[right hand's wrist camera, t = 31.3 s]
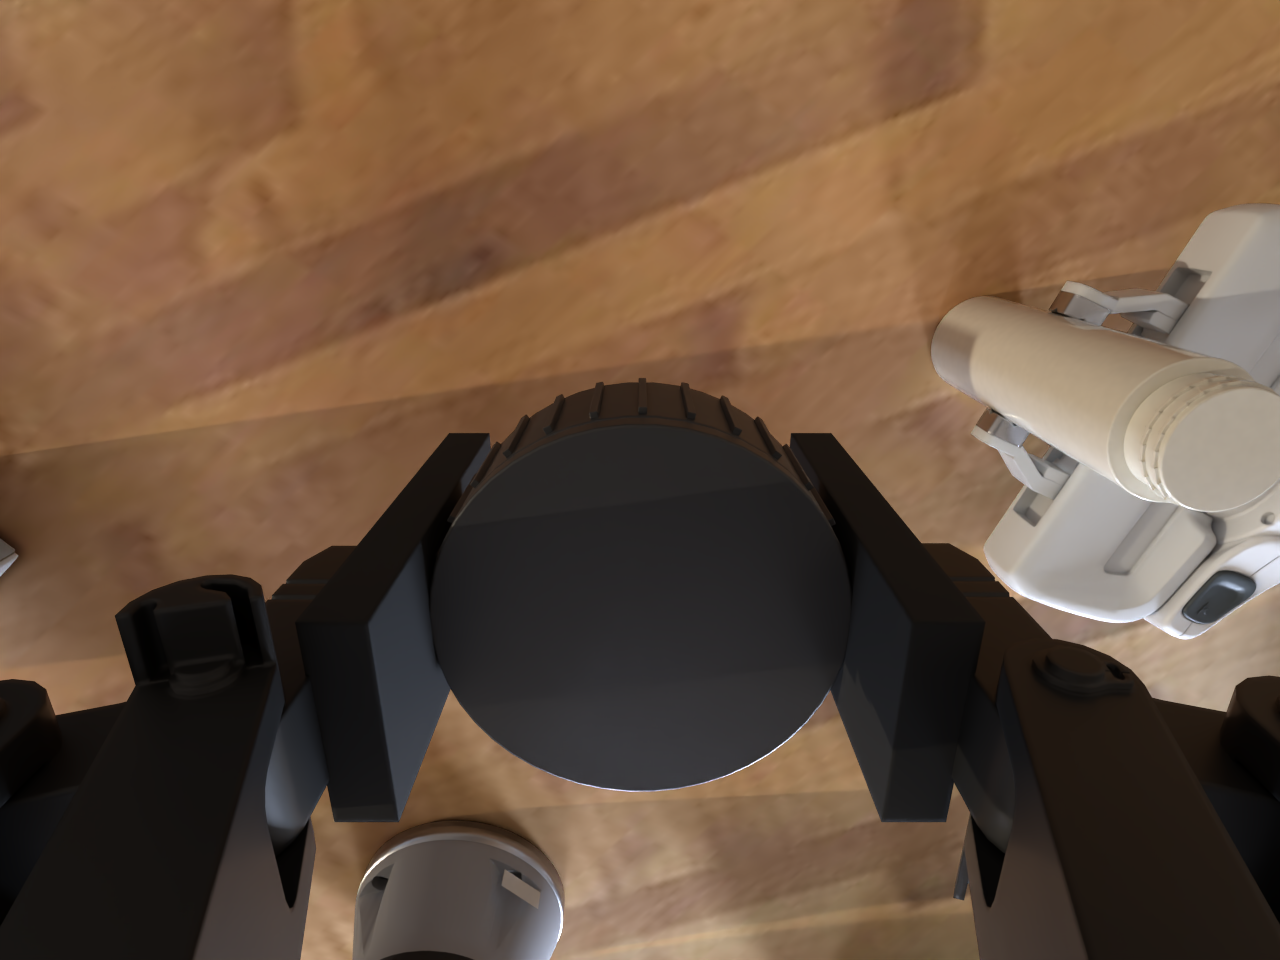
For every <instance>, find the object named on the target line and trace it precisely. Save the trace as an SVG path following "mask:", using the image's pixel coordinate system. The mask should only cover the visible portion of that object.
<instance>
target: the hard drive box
mask: <svg viewBox="0 0 1280 960" xmlns="http://www.w3.org/2000/svg"><path fill="white" fill-rule="evenodd" d="M17 558H18V555H17V554H16V553H15V549H14V548H13V547H11V546H10V545H8V544H7V543H6V542H4V541H3V540H2V539H1V538H0V576H1V575H2V574H3V573H4V572H5V571H6V570H7V569H8V568H9V567H10V566H11V564H12V563H13V562H14V561H15V560H16V559H17Z"/></svg>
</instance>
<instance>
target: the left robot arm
mask: <svg viewBox="0 0 1280 960" xmlns="http://www.w3.org/2000/svg"><path fill="white" fill-rule="evenodd" d="M1049 311H1051V312H1053V313H1057V314H1061V315H1064V316H1068V317H1072V318H1075V319H1079V320H1083V321H1086V322H1090V323H1094V324H1097V325H1101V324H1102V323H1103V322H1104V320H1105V319H1106V317H1107V316H1108V314H1116V313H1121V317H1123V318H1125V319H1127V320H1129V321H1131V322H1133V325H1132V326H1131V328H1130V329H1129V331H1128V332H1127V333H1130V334H1134V335H1137V336H1141V337H1145V338H1148V339H1152V340H1155V341H1159V342H1163V343H1166V344H1170V345H1174V346H1177V347H1181V348H1185V349H1188V350H1192V351H1195V352H1199V353H1203V354H1206V355H1210V356H1214V357H1217V358H1221V359H1224V360H1227V361H1230V362H1233V363H1235V364H1237V365H1239V366H1240V367H1242V368H1243V369H1244V370H1246V371H1247V372H1248V373H1249V374H1250V375H1251V376H1252V377H1253V379H1254V380H1255V382H1258V383H1260V384H1262V385H1265V386H1267V387H1269V388H1272V389H1273V390H1274V391H1275V392H1276V393H1277V394H1278V395H1279V396H1280V205H1278V204H1265V203H1248V204H1239V205H1235V206H1230V207H1227V208H1223V209H1220V210H1217V211H1214V212H1212V213H1210V214H1209V215H1207V216H1206V218H1205V219H1204V220H1203V221H1202V223H1201V224H1200V226H1199V227H1198V229H1197V230H1196V232H1195V233H1194V235H1193V236H1192V238H1191V239H1190V241H1189V242H1188V243H1187V245H1186V246H1185V248H1184V249H1183V251H1182V252H1181V254H1180V255H1179V257H1178V258H1177V260H1176V261H1175V263H1174V264H1173V266H1172V267H1171V269H1170V270H1169V272H1168V273H1167V275H1166V276H1165V278H1164V279H1163V280H1162V282H1161V283H1160V285H1159V286H1158V288H1157V289H1156V291H1151V290H1145V289H1140V288H1132V289H1124V290H1116V291H1108V292H1100V291H1098V290H1096V289H1094V288H1092V287H1090V286H1087V285H1084V284H1082V283H1078V282H1072V281H1066V283H1065V285H1064V286H1063V288H1062V289H1061V291H1060V293H1059V294H1058V296H1057V297H1056V299H1055V300H1054V302H1053V304H1052V305H1051V307H1050V308H1049ZM971 434H972V435H973V436H974V437H976V438H977V439H979V440H980V441H982V442H984V443H986V444H987V445H989V446H991V447H993V448H996V449H997V450H998V451H999V453H1000V455H1001V457H1002V458H1003V460H1004V462H1005V464H1006V465H1007V467H1008V469H1009V471H1010V472H1011V474H1012V476H1014V477H1015V478H1016V479H1018V480H1019V481H1021V482H1022V483H1023V484H1025V485H1024V486H1023V488H1022V489H1021V490H1020V492H1019V493H1018V495H1017V496H1016V498H1015V499H1014V501H1013V502H1012V504H1011V505H1010V507H1009V508H1008V510H1007V511H1006V513H1005V514H1004V516H1003V517H1002V519H1001V520H1000V522H999V523H998V524H997V526H996V527H995V529H994V530H993V532H992V533H991V535H990V536H989V538H988V539H987V541H986V542H985V544H984V553H985V556H986V558H987V561H988V563H989V565H990V567H991V569H992V570H993V571H994V572H995V574H996V575H997V576H998V577H999V578H1000V579H1001V580H1002V581H1003V582H1004V583H1005V584H1006V585H1008V586H1009V587H1010V588H1011V589H1013V590H1014V591H1015V592H1017V593H1019V594H1020V595H1022V596H1025V597H1027V598H1029V599H1032V600H1034V601H1037V602H1039V603H1042V604H1045V605H1048V606H1050V607H1053V608H1056V609H1059V610H1063V611H1066V612H1069V613H1073V614H1076V615H1079V616H1083V617H1087V618H1091V619H1095V620H1100V621H1105V622H1114V623H1124V622H1132V621H1136V620H1139V619H1142V618H1144V619H1145V620H1147V621H1148V622H1150V623H1151V624H1153V625H1154V626H1156V627H1158V628H1159V629H1161V630H1163V631H1164V632H1166V633H1168V634H1170V635H1172V636H1174V637H1177V638H1180V639H1191V638H1194V637H1197V636H1199V635H1200V634H1202V633H1204V632H1205V631H1207V630H1208V629H1209V628H1211V627H1212V626H1214V625H1215V624H1216V623H1218V622H1219V621H1220V620H1222V619H1223V618H1225V617H1226V616H1227V615H1229V614H1230V613H1232V612H1233V611H1234V610H1236V609H1237V608H1239V607H1240V606H1242V605H1243V604H1245V603H1246V602H1248V601H1250V600H1251V599H1253V598H1254V597H1256V596H1258V595H1259V594H1261V593H1263V592H1264V591H1266V590H1268V589H1270V588H1271V587H1273V586H1275V585H1277V584H1279V583H1280V478H1279V479H1278V480H1277V481H1276V482H1275V483H1274V484H1273V485H1272V486H1271V487H1270V488H1269V489H1268V490H1267V491H1265V492H1264V493H1263V494H1262V495H1260V496H1259V497H1257V498H1255V499H1254V500H1252V501H1250V502H1248V503H1246V504H1244V505H1241V506H1239V507H1236V508H1233V509H1230V510H1225V511H1218V512H1202V511H1196V510H1192V509H1189V508H1186V507H1182V506H1178V505H1176V504H1173V503H1171V502H1168V503H1165V502H1153V501H1147V500H1144V499H1141V498H1138V497H1136V496H1134V495H1132V494H1130V493H1128V492H1127V491H1125V490H1123V489H1122V488H1120V487H1118V486H1117V485H1115V484H1113V483H1112V482H1110V481H1109V480H1107V479H1105V478H1104V477H1102V476H1100V475H1099V474H1097V473H1095V472H1094V471H1092V470H1090V469H1089V468H1087V467H1085V466H1084V465H1082V464H1080V463H1079V462H1077V461H1075V460H1074V459H1072V458H1070V457H1069V456H1067V455H1065V454H1064V453H1062V452H1060V451H1059V450H1057V449H1055V448H1054V447H1052V446H1050V448H1049V449H1048V451H1047V452H1046V454H1045V455H1044V456H1043V458H1040V457H1037V456H1035V455H1033V454H1030V453H1029V454H1027V452H1026V450H1025V449H1024V447H1023V446H1022V445H1023V443H1024V441H1025V440H1026V438H1027V437H1028V435H1029V432H1027V431H1026V430H1024V429H1022V428H1021V427H1019V426H1017V425H1016V424H1014V423H1012V422H1011V421H1009V420H1008V419H1006V418H1004V417H1003V416H1001V415H999V414H998V413H996V412H994V411H993V410H991V409H988V408H987V409H986V410H985V412H984V413H983V415H982V416H981V418H980V419H979V421H978V422H977V424H976V425H975V427H974V429H973V430H972V432H971Z"/></svg>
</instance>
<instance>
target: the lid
mask: <svg viewBox="0 0 1280 960" xmlns="http://www.w3.org/2000/svg"><path fill="white" fill-rule="evenodd" d="M447 521H448V522H450V523H452V525H451V527H450V529H449V531H448V532H447V534H446V536H445V538H444V540H443V542H442V544H441V546H440V548H439V550H438V551H437V553H436V555H435V560H436V562H435V564H434V569H433V574H432V579H431V585H430V592H429V607H430V617H431V625H432V634H433V642H434V648H435V652H436V656H437V659H438V663H439V665H440V667H441V670H442V672H443V674H444V676H445V679H446V681H447V683H448V685H449V687H450V688H451V690H452V692H453V693H454V695H455V697H456V698H457V700H458V702H459V703H460V705H461V706H462V707H463V708H464V710H465V711H466V712H467V713H468V714H469V716H470V717H471V718H472V719H473V721H474V722H475V723H476V724H477V725H478V726H479V727H480V728H481V729H482V730H483V731H484V732H485V733H486V734H487V735H489V736H490V737H491V738H492V739H493V740H494V741H495V742H497V743H498V744H499V745H501V746H502V747H503V748H505V749H506V750H507V751H509V752H510V753H511V754H513V755H515V756H516V757H518V758H520V759H522V760H523V761H525V762H527V763H528V764H530V765H532V766H534V767H536V768H538V769H540V770H543V771H545V772H547V773H549V774H552V775H554V776H557V777H560V778H563V779H566V780H569V781H572V782H575V783H578V784H583V785H588V786H592V787H597V788H602V789H610V790H620V791H661V790H671V789H679V788H684V787H689V786H694V785H699V784H703V783H706V782H709V781H713V780H716V779H719V778H722V777H725V776H728V775H730V774H732V773H734V772H737V771H739V770H741V769H743V768H746V767H748V766H750V765H751V764H753V763H755V762H757V761H758V760H760V759H762V758H763V757H765V756H767V755H769V754H770V753H771V752H773V751H774V750H775V749H777V748H778V747H779V746H781V745H782V744H783V743H785V742H786V741H788V740H789V739H790V738H791V737H792V736H793V735H794V734H795V733H796V732H797V731H798V730H799V729H800V728H801V727H802V726H804V725H805V724H806V723H807V721H808V720H809V719H810V718H811V716H812V715H813V714H814V713H815V712H816V710H817V709H818V708H819V707H820V705H821V704H822V702H823V701H824V699H825V698H826V696H827V694H828V693H829V691H830V689H831V688H832V686H833V685H834V682H835V680H836V678H837V676H838V673H839V671H840V669H841V667H842V664H843V662H844V658H845V653H846V646H847V639H848V630H849V622H850V614H851V604H852V587H851V581H850V576H849V570H848V565H847V563H846V560H845V556H844V554H843V551H842V548H841V545H840V542H839V540H838V539H837V537H836V535H835V533H834V531H833V529H832V527H831V526H833V525H835V524H836V523H835V521H834V519H833V517H832V515H831V514H830V512H829V510H828V509H827V507H826V505H825V504H824V502H823V501H822V499H821V497H820V496H819V494H818V492H817V491H816V489H815V487H814V486H813V484H812V482H811V481H810V479H809V478H808V476H807V475H806V473H805V472H804V470H803V468H802V467H801V465H800V463H799V462H798V460H797V459H796V457H795V455H794V454H793V452H792V450H791V449H790V447H789V446H788V445H787V444H785V445H784V446H783V447H782V445H781V444H780V443H779V442H778V441H777V440H776V439H775V438H774V437H773V436H772V435H771V434H770V433H769V431H768V429H767V427H766V425H765V424H764V422H763V420H762V419H761V418H759V417H757V418H756V419H755V420H754V419H752V418H751V417H750V416H749V415H747V414H746V413H744V412H742V411H741V410H739V409H737V408H736V407H734V406H732V405H731V404H730V401H729V399H728V398H727V397H725V396H721V398H720V399H718V398H715V397H713V396H711V395H708V394H706V393H703V392H700V391H696V390H692V389H690V388H689V384H687V383H681V386H676V385H669V384H661V383H646V378H639V383H621V384H613V385H605V386H604V383H603V382H599V383H596V386H595V388H593V389H589V390H585V391H581V392H578V393H576V394H573V395H571V396H569V397H566V398H564V396H563V395H562V394H561V395H559V396H557V397H556V399H555V401H554V403H553V404H551V405H549V406H548V407H546V408H544V409H542V410H541V411H539V412H537V413H536V414H534V415H533V416H532V417H530V418H529V417H528V416H527V415H525V416H524V417H522V418H521V420H520V422H519V423H518V425H517V427H516V429H515V430H514V431H513V432H512V433H511V434H510V435H509V437H508V438H507V439H506V440H505V441H504V442H503V443H502V444H500V443H498V442H496V443H495V444H494V445H493V447H492V448H491V450H490V452H489V453H488V455H487V457H486V459H485V460H484V462H483V464H482V465H481V467H480V469H479V470H478V472H477V474H476V473H475V475H474V476H473V478H472V479H471V481H470V483H469V484H468V486H467V488H466V489H465V491H464V493H463V494H462V496H461V498H460V499H459V501H458V503H457V504H456V506H455V508H454V509H453V511H452V513H451V514H450V516H449V518H448V520H447Z"/></svg>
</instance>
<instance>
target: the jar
mask: <svg viewBox="0 0 1280 960" xmlns="http://www.w3.org/2000/svg"><path fill="white" fill-rule="evenodd" d="M931 358H932V362H933V365H934V368H935V370H936V372H937V373H938V375H939V376H940V377H941V378H942V379H943V380H944V381H945V382H946V383H948V384H949V385H951V386H952V387H954V388H956V389H957V390H959V391H961V392H962V393H964V394H966V395H967V396H969V397H971V398H972V399H974V400H976V401H977V402H979V403H981V404H982V405H984V406H986V407H987V408H989V409H991V410H993V411H994V412H996V413H998V414H999V415H1001V416H1003V417H1004V418H1006V419H1008V420H1009V421H1011V422H1012V423H1014V424H1016V425H1017V426H1019V427H1021V428H1022V429H1024V430H1026V431H1027V432H1029V433H1030V434H1032V435H1034V436H1035V437H1037V438H1039V439H1040V440H1042V441H1044V442H1045V443H1047V444H1049V445H1050V446H1052V447H1054V448H1055V449H1057V450H1059V451H1060V452H1062V453H1064V454H1065V455H1067V456H1069V457H1070V458H1072V459H1074V460H1075V461H1077V462H1079V463H1080V464H1082V465H1084V466H1085V467H1087V468H1089V469H1090V470H1092V471H1094V472H1095V473H1097V474H1099V475H1100V476H1102V477H1104V478H1105V479H1107V480H1109V481H1110V482H1112V483H1113V484H1115V485H1117V486H1118V487H1120V488H1122V489H1123V490H1125V491H1127V492H1128V493H1130V494H1132V495H1134V496H1136V497H1138V498H1141V499H1144V500H1147V501H1153V502H1165V503H1168V502H1171V503H1173V504H1176V505H1178V506H1182V507H1186V508H1189V509H1192V510H1196V511H1202V512H1218V511H1225V510H1230V509H1233V508H1236V507H1239V506H1241V505H1244V504H1246V503H1248V502H1250V501H1252V500H1254V499H1255V498H1257V497H1259V496H1260V495H1262V494H1263V493H1264V492H1265V491H1267V490H1268V489H1269V488H1270V487H1271V486H1272V485H1273V484H1274V483H1275V482H1276V481H1277V480H1278V479H1279V478H1280V396H1279V395H1278V394H1277V393H1276V392H1275V391H1274V390H1273V389H1272V388H1269V387H1267V386H1265V385H1262V384H1260V383H1258V382H1255V380H1254V379H1253V377H1252V376H1251V375H1250V374H1249V373H1248V372H1247V371H1246V370H1244V369H1243V368H1242V367H1240V366H1239V365H1237V364H1235V363H1233V362H1230V361H1227V360H1224V359H1221V358H1217V357H1214V356H1210V355H1206V354H1203V353H1199V352H1195V351H1192V350H1188V349H1185V348H1181V347H1177V346H1174V345H1170V344H1166V343H1163V342H1159V341H1155V340H1152V339H1148V338H1145V337H1141V336H1137V335H1134V334H1130V333H1126V332H1123V331H1119V330H1115V329H1112V328H1108V327H1105V326H1101V325H1097V324H1094V323H1090V322H1086V321H1083V320H1079V319H1075V318H1072V317H1068V316H1064V315H1061V314H1057V313H1053V312H1050V311H1046V310H1043V309H1039V308H1035V307H1032V306H1028V305H1024V304H1021V303H1017V302H1014V301H1010V300H1006V299H1003V298H999V297H994V296H979V297H974V298H971V299H968V300H966V301H964V302H962V303H960V304H958V305H957V306H955V307H954V308H953V309H951V310H950V311H949V312H948V313H947V314H946V315H945V316H944V318H943V319H942V320H941V321H940V323H939V325H938V326H937V328H936V331H935V333H934V336H933V339H932V344H931Z"/></svg>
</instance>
